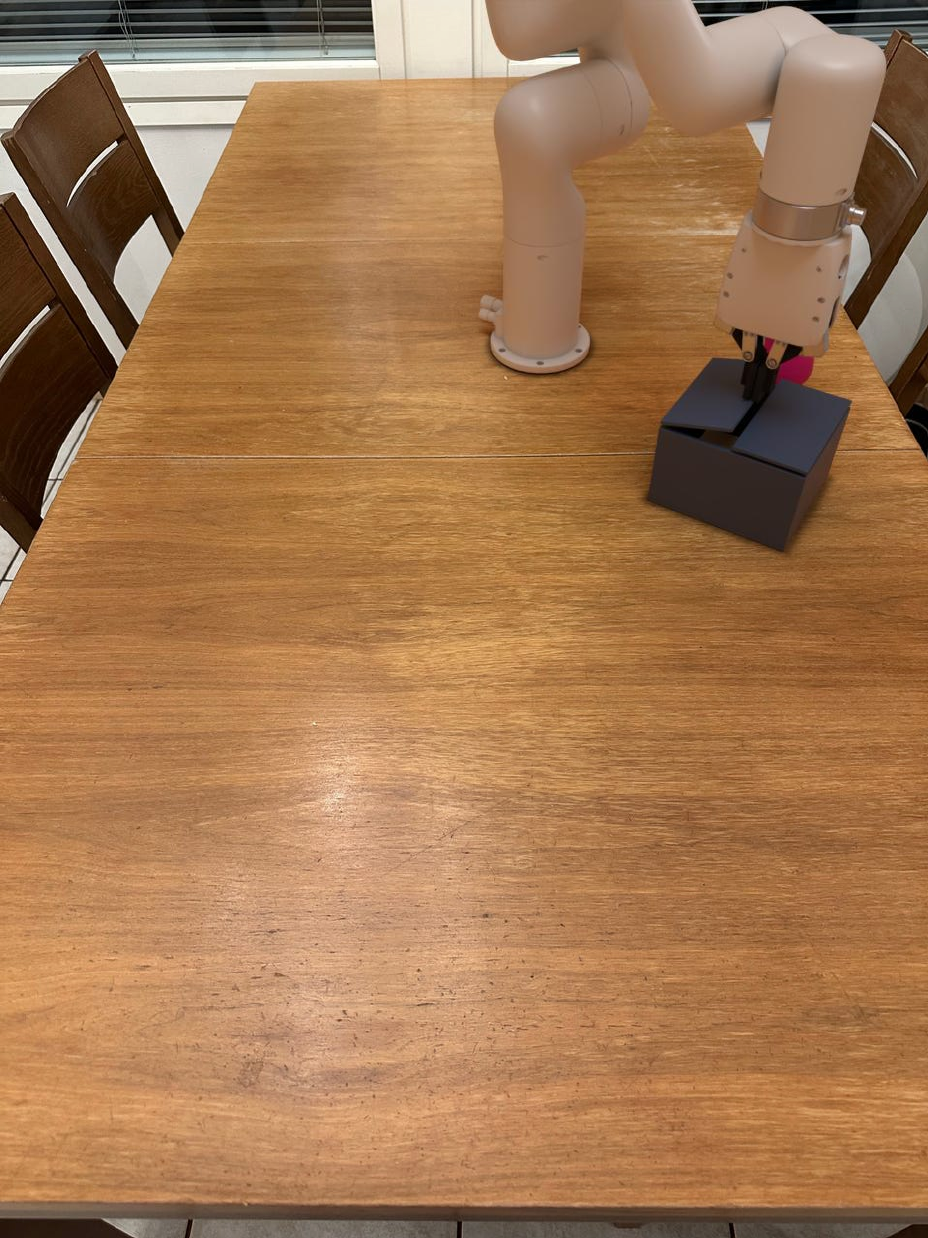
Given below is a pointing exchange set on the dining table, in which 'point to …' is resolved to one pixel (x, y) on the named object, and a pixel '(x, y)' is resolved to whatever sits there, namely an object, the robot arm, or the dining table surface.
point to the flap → (712, 398)
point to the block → (720, 439)
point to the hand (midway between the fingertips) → (755, 393)
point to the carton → (754, 465)
